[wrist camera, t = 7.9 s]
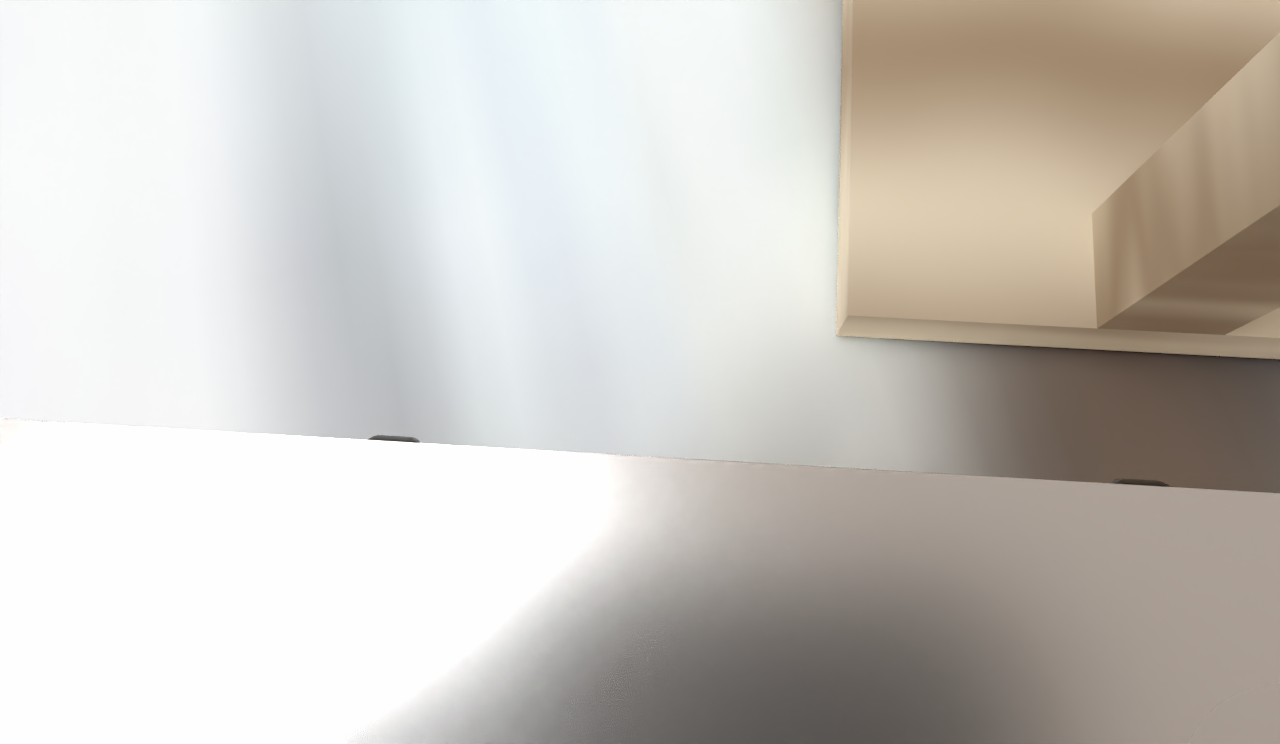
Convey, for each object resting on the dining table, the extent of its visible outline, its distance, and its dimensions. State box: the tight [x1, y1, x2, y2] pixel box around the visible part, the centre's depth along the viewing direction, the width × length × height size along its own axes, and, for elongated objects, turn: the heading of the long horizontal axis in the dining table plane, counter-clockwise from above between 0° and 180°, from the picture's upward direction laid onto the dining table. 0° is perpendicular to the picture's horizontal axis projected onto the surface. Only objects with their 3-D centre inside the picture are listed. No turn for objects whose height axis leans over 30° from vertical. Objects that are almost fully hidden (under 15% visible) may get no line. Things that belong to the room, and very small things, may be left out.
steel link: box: [0, 419, 1280, 744], centre depth 9 cm, size 2×6×12 cm, turn 86°
